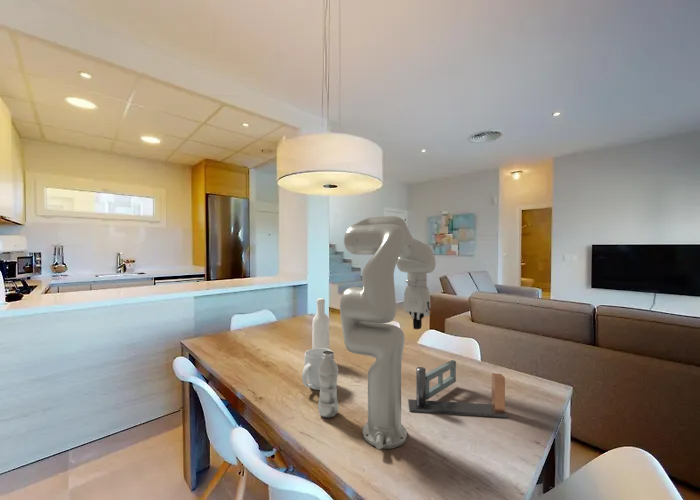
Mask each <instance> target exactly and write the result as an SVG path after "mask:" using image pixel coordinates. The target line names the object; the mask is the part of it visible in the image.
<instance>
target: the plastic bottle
mask: <svg viewBox="0 0 700 500" xmlns="http://www.w3.org/2000/svg"><path fill="white" fill-rule="evenodd" d="M322 359H323V361H322V362H321V364H320V365H319V368H318V373H319V380H320V390H319V397H318V398H319V399H318V403H317V409H318V414H319V415H320V416H321V417H323V418H333V417H335V416H336V415H337V414H338V412H339V402H338V400H339V399H338V393H337V385H338V377H339V367H338V364H337V363H336V361H335V352H334V351H333V350H331V351H324V352H323V353H322Z"/></svg>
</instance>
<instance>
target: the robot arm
mask: <svg viewBox="0 0 700 500" xmlns="http://www.w3.org/2000/svg"><path fill="white" fill-rule="evenodd" d="M343 244H344V247H345V249H346V251H347V252H348V253H350V254H352V255H355V256H356V255H358V256H360V255H361V256H362V255H363V256H367V255H369V256H370V255H371V256H372V257H371V258H370V259H369V260H368V262H367V263H366V264H365V266H364V268H363V270H362V275H361V278H362V287H361V286H360V287H359V286H352V287H347V288H346V289H345V290H343V292H342V295H341V297H340V301H339V313H340V314H339V315H340V322H341V323H340V324H341V329H342V335H343V343H344V345H345V348H346V350H347V351H348V352H349V353H352V354H355V355H356V354H357V355H362V356H367V357H371V358H375V361H374V362H373V363H372V364H371V366H370V367H369V368H368V370H367V421H366V422H365V424H364V425H363V426H362V430H361V431H362V437H363V439H364V441H366V442H367V443H368V444H369V445H371V446H374V447H375V448H376V449H378V450H382V449H394V448H398V447H400V446H402V445H403V444H404V443H406V441H407V439H408V438H407V437H408V432H407V428H406V427H405V426H404V424H402V364H403V363H402V361H403V354H404V347H405V334H404V332H403V330H402V329H401V328H400V327H398V326H396V325H394V324H391V322H392V321H393V320H395V318H396V315H397V302H396V299H397V298H396V290H395V278H394V276H395V275H394V274H395V269H396V266H397V269H398V270H399V271H400V272H403V273H407V279H406V280H405V283H406V284H407V286H405V288H404V289H405V290H404V297H403V310H405V313H407V314H409V315H410V316H411V319H412V325H413V329H414V330H420V329H422V324H423V323H422V320H423V318H424V317H428V316H430V311H431V297H430V295H431V294H430V290H429V287H428V286H427V284H428V282H427V281H428V280H427V279H428V278H427V277H428V276H427V274H430V273H433V272H434V271H435V269H436V266H437V265H436V263H437V261H436V257H435V253H434V251H433V249H432V248H431V247H430V246H429V245H428V244H426V243H425V242H422V241H421V240H419V239H416V238H413V236H412V233H411V231H410V230H409V226H408V225H407V223H406V222H405V220H404V219H402V218H401V217H399V216H396V215H395V216H394V215H391V216H390V215H389V216H388V215H387V216H372V217H367V218H364V219H362V220H359V221H358V222H356V223H354V224H351V225H350V226H349V227H348V228H347V229H346V231H345V234H344V237H343Z"/></svg>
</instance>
